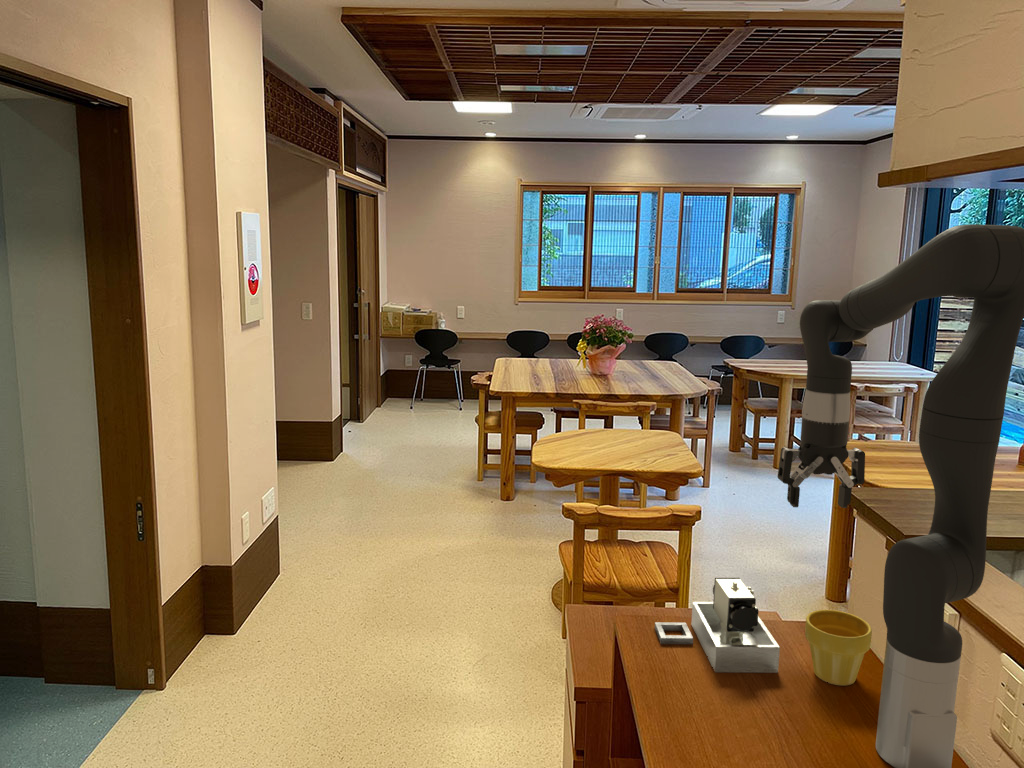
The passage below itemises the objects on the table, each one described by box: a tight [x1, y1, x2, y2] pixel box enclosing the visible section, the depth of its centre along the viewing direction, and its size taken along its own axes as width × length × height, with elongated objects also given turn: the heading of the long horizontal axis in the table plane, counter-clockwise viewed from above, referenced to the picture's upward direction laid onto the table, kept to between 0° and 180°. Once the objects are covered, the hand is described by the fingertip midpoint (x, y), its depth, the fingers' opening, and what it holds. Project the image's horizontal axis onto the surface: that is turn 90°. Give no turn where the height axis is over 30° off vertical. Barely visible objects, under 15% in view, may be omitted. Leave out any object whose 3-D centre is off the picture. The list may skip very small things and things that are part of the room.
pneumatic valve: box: [712, 577, 759, 645], centre depth 135 cm, size 6×12×12 cm, turn 2°
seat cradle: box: [690, 601, 781, 674], centre depth 135 cm, size 17×11×5 cm, turn 0°
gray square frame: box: [654, 621, 694, 645], centre depth 140 cm, size 6×6×1 cm
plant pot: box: [804, 609, 873, 687], centre depth 126 cm, size 10×10×10 cm
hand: (818, 506), depth 129 cm, fingers open, 8 cm apart
